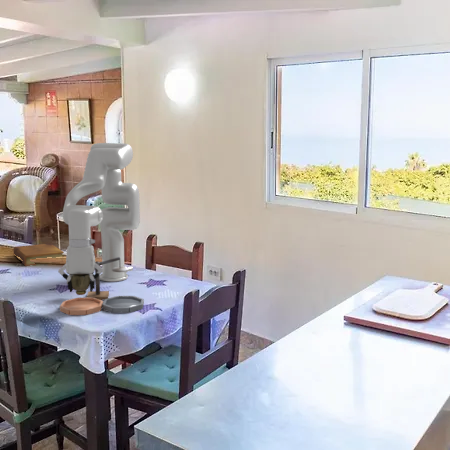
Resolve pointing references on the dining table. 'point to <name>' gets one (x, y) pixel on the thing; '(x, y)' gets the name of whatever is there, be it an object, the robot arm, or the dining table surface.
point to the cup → (80, 283)
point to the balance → (99, 294)
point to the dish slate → (123, 304)
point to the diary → (36, 252)
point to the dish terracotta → (81, 306)
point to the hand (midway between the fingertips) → (81, 290)
